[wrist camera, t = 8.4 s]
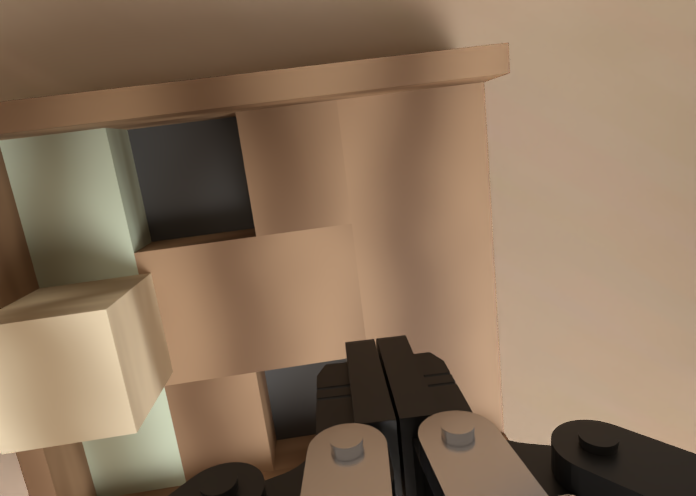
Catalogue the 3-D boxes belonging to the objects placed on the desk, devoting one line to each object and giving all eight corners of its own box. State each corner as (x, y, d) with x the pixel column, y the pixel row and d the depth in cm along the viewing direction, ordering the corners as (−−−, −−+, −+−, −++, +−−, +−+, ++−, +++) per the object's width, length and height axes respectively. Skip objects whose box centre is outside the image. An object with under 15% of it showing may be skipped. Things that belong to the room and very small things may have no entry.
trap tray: (462, 65, 21) (508, 42, 16) (485, 421, 25) (528, 487, 20) (4, 120, 20) (-91, 112, 15) (103, 483, 24) (52, 568, 19)
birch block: (150, 272, 20) (106, 309, 15) (173, 372, 21) (136, 433, 16) (39, 288, 19) (-39, 330, 15) (67, 388, 20) (1, 454, 16)
